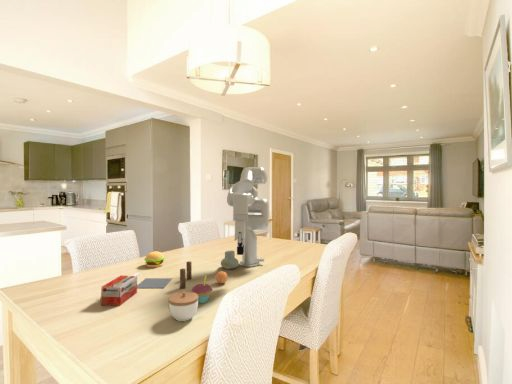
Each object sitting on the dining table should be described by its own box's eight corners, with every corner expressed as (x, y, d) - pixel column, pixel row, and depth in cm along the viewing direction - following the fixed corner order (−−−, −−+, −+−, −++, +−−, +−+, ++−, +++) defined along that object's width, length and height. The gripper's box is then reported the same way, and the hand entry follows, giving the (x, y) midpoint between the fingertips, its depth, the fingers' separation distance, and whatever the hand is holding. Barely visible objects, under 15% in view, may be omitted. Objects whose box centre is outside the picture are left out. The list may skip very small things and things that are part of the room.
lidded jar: (172, 311, 106) (172, 287, 106) (200, 310, 107) (200, 287, 106) (165, 325, 95) (165, 298, 95) (196, 324, 96) (196, 297, 96)
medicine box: (120, 306, 110) (120, 287, 110) (100, 306, 111) (100, 286, 111) (137, 292, 125) (137, 275, 125) (120, 292, 126) (120, 275, 126)
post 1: (186, 286, 132) (186, 268, 132) (184, 288, 130) (184, 270, 130) (180, 286, 132) (180, 268, 132) (179, 288, 130) (179, 270, 130)
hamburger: (168, 263, 174) (168, 250, 174) (159, 268, 163) (159, 254, 162) (150, 262, 176) (150, 249, 176) (140, 268, 164) (140, 253, 164)
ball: (227, 281, 141) (228, 269, 141) (226, 285, 135) (227, 273, 135) (216, 281, 141) (216, 269, 141) (214, 285, 135) (214, 273, 135)
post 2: (191, 278, 145) (192, 261, 145) (190, 279, 143) (190, 262, 143) (187, 278, 145) (187, 261, 145) (185, 279, 143) (185, 262, 143)
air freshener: (240, 267, 166) (240, 251, 166) (234, 271, 159) (234, 253, 159) (225, 265, 171) (225, 249, 171) (218, 268, 164) (218, 252, 163)
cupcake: (215, 298, 118) (215, 271, 118) (205, 306, 110) (205, 277, 110) (198, 296, 121) (198, 269, 121) (187, 303, 113) (187, 274, 113)
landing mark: (172, 278, 144) (172, 278, 144) (163, 288, 130) (163, 287, 130) (145, 278, 144) (145, 278, 144) (134, 288, 130) (134, 287, 130)
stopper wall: (139, 277, 146) (139, 272, 146) (124, 289, 128) (124, 284, 128) (135, 277, 146) (135, 272, 146) (119, 289, 128) (119, 284, 128)
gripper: (234, 216, 146) (234, 250, 146) (232, 219, 129) (231, 257, 130) (248, 216, 146) (247, 250, 146) (247, 219, 130) (247, 257, 130)
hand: (240, 253), depth 138 cm, fingers open, 3 cm apart
